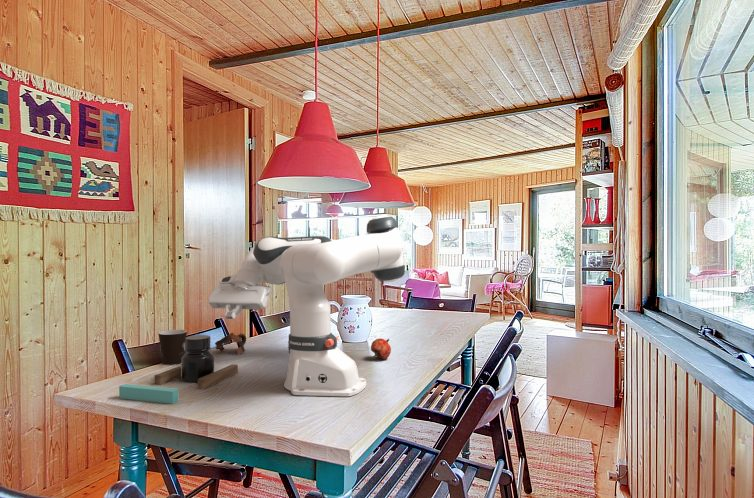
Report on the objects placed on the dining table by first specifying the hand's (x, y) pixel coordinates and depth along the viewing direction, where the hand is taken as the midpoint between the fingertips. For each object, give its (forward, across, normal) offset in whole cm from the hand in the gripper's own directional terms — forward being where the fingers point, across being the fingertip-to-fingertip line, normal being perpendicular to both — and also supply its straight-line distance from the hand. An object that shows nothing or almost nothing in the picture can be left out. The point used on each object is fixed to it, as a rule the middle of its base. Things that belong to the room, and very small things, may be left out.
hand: (229, 317), depth 145 cm
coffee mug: (+11, +20, -10) cm, 26 cm away
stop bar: (+35, 0, +14) cm, 37 cm away
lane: (+22, 0, 0) cm, 22 cm away
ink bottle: (+22, 0, 0) cm, 22 cm away
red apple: (-4, -44, -26) cm, 52 cm away
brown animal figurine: (0, +10, -22) cm, 25 cm away
